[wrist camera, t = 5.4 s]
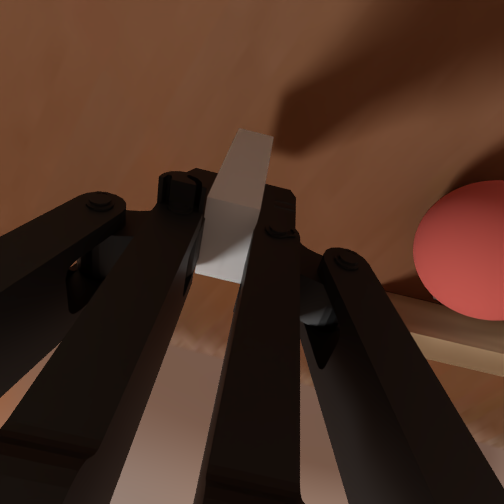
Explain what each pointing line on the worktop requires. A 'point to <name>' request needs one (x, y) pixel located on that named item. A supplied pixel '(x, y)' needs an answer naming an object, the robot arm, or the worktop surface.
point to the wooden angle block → (453, 335)
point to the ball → (465, 250)
